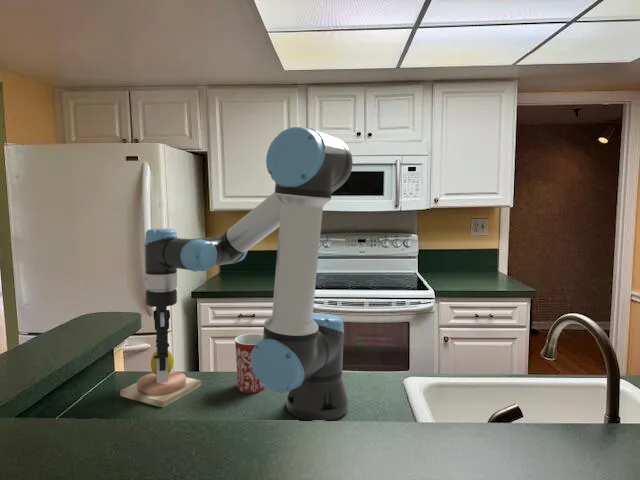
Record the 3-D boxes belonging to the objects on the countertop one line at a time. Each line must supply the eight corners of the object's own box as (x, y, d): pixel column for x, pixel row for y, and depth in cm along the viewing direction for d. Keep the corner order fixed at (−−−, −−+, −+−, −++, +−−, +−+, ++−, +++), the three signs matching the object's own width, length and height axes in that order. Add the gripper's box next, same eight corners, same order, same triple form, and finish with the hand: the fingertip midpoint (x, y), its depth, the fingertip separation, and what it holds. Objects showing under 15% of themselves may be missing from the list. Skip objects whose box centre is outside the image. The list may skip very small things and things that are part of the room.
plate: (201, 385, 118) (201, 375, 118) (163, 407, 105) (163, 395, 105) (160, 376, 123) (160, 366, 123) (120, 396, 111) (120, 384, 110)
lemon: (165, 372, 118) (165, 343, 117) (177, 377, 114) (177, 347, 114) (146, 378, 113) (146, 348, 113) (158, 384, 110) (158, 353, 109)
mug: (250, 398, 111) (250, 346, 110) (227, 388, 117) (227, 338, 116) (284, 383, 121) (285, 335, 120) (261, 374, 127) (262, 328, 126)
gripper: (145, 283, 119) (146, 366, 121) (145, 297, 102) (146, 393, 104) (174, 282, 122) (175, 363, 124) (179, 295, 105) (179, 389, 107)
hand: (162, 376), depth 114 cm, fingers closed on lemon, 5 cm apart
